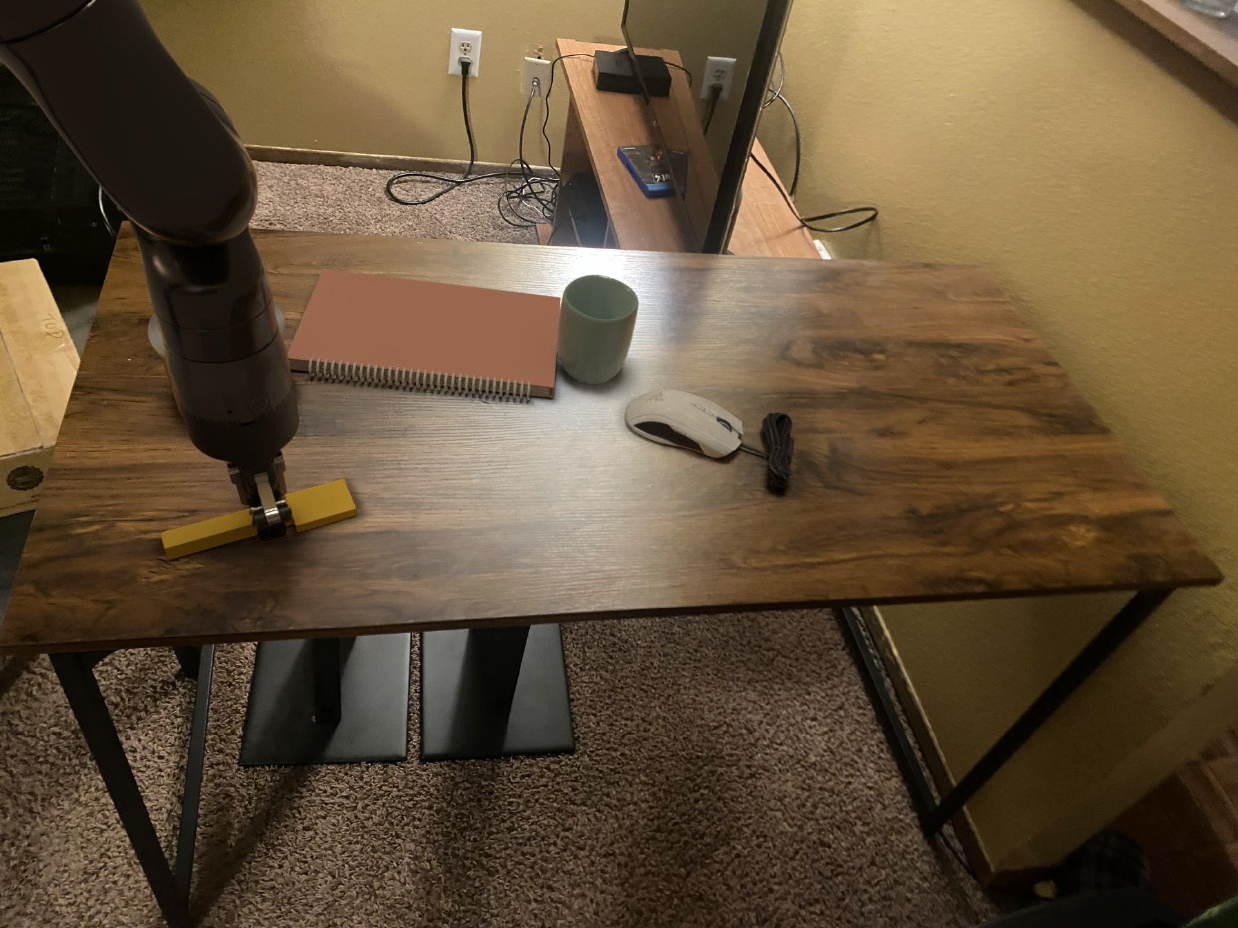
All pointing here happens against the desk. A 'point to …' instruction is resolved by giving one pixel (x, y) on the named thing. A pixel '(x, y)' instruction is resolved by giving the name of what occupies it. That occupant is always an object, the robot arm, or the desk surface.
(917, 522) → the desk surface
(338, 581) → the desk surface
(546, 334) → the notebook
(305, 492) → the stepped yellow stick
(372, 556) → the desk surface
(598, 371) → the cup
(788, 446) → the computer mouse
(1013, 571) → the desk surface
